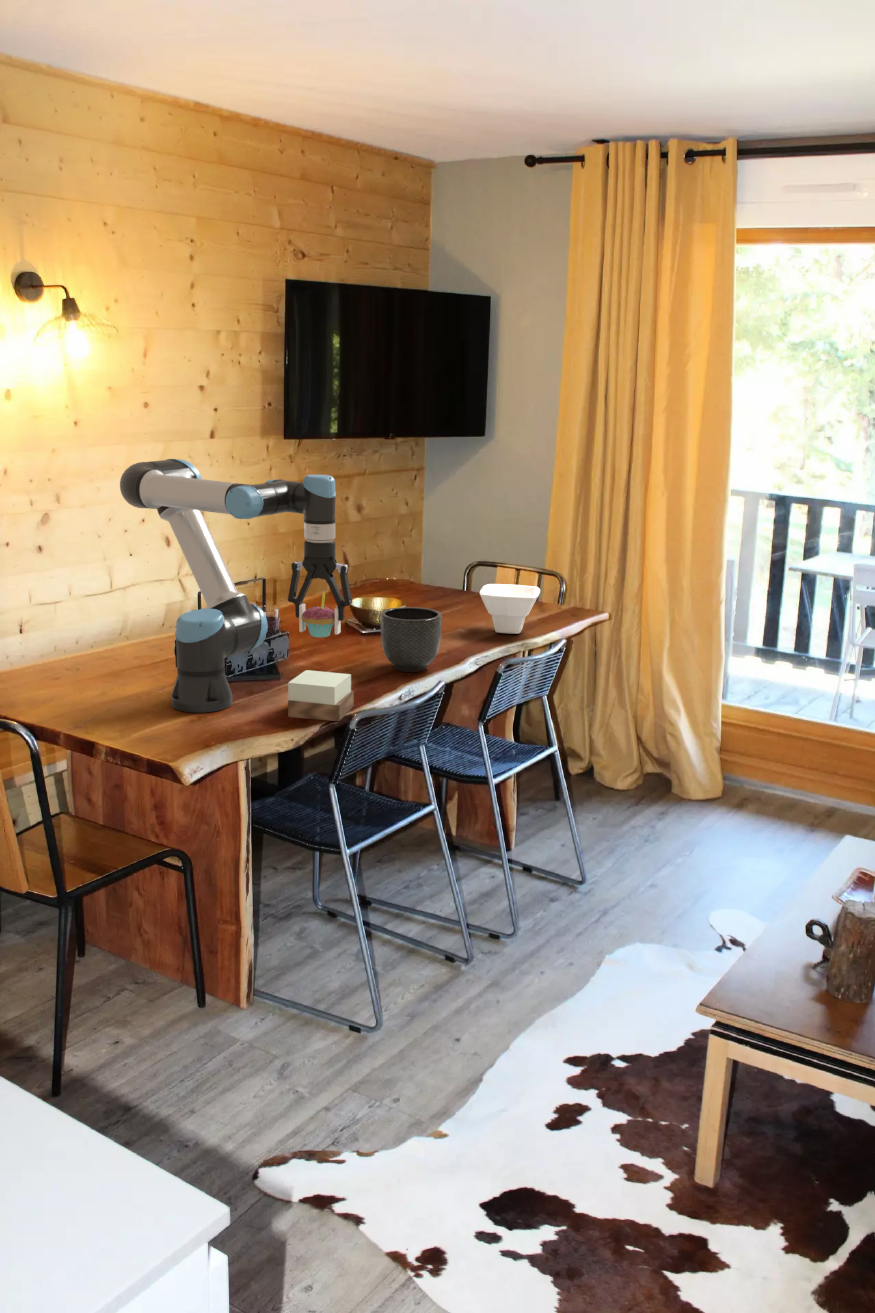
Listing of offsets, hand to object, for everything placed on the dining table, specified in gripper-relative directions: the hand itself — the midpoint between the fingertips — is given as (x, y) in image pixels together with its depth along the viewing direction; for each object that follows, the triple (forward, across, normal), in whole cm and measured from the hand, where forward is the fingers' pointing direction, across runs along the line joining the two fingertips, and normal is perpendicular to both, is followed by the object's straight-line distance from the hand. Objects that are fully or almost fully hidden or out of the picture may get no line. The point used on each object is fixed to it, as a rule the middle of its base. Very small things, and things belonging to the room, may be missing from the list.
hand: (320, 631), depth 284 cm
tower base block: (+21, 0, 0) cm, 21 cm away
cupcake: (+1, 0, 0) cm, 1 cm away
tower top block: (+16, 0, -1) cm, 16 cm away
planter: (+20, +13, +45) cm, 51 cm away
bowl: (+20, +34, +96) cm, 104 cm away
